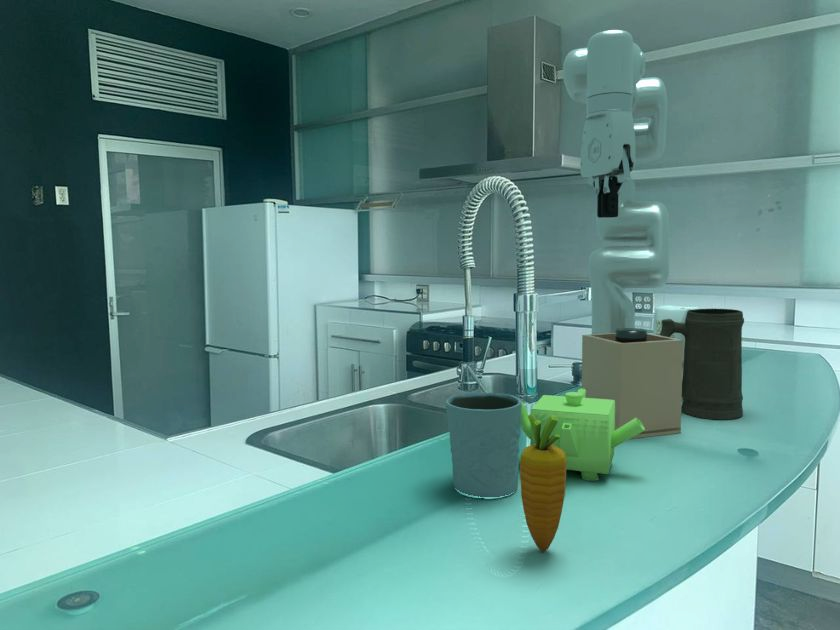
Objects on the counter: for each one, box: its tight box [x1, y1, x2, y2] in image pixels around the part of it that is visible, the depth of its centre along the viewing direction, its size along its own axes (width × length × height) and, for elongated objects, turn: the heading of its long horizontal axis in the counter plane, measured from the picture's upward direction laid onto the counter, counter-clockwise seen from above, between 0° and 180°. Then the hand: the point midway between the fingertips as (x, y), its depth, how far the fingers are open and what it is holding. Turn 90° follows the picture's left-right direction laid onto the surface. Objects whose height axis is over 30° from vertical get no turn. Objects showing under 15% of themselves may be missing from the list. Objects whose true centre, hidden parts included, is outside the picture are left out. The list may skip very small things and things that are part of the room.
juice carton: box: [652, 304, 701, 401], centre depth 135 cm, size 8×9×19 cm
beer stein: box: [660, 308, 745, 421], centre depth 121 cm, size 15×11×20 cm
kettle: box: [520, 388, 645, 481], centre depth 92 cm, size 15×14×11 cm
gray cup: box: [445, 392, 523, 497], centre depth 86 cm, size 10×10×12 cm
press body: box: [581, 332, 683, 440], centre depth 114 cm, size 14×12×16 cm
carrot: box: [519, 413, 567, 552], centre depth 67 cm, size 5×5×15 cm
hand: (607, 217), depth 112 cm, fingers closed
